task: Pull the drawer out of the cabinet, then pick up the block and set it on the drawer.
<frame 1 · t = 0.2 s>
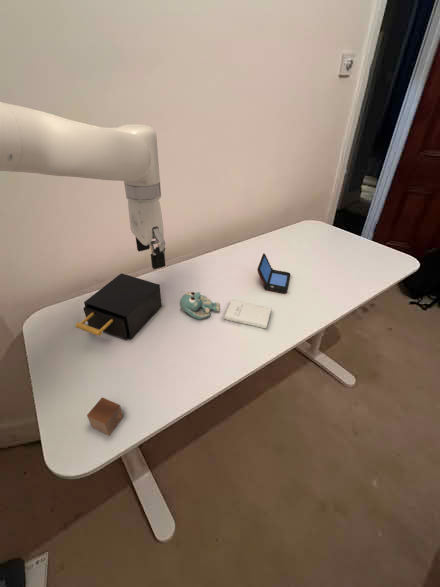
hand: (151, 258, 76), 20 cm above the table, tool pointing down, fingers open, 9 cm apart
handheld console: (272, 282, 106), on the table
drawer: (115, 313, 83), point 4 cm above the table, slide at 0.0 cm, touching cabinet
stuffed animal: (199, 310, 92), on the table
block: (107, 422, 62), on the table
hard drive: (248, 316, 90), on the table
cabinet: (127, 315, 88), on the table
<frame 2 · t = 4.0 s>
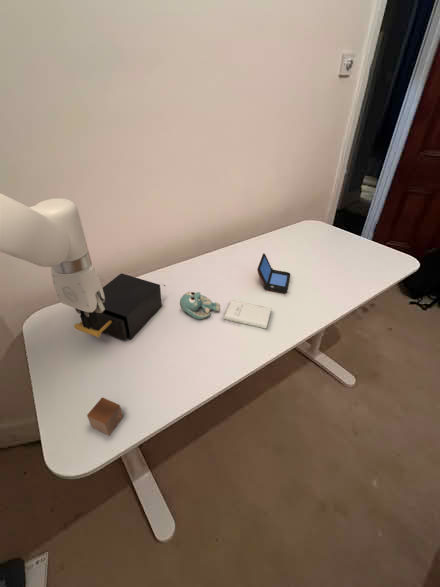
hand: (90, 324, 74), 7 cm above the table, tool pointing down, fingers closed
drawer: (114, 314, 82), point 4 cm above the table, slide at 0.5 cm, touching gripper
everything else where it was.
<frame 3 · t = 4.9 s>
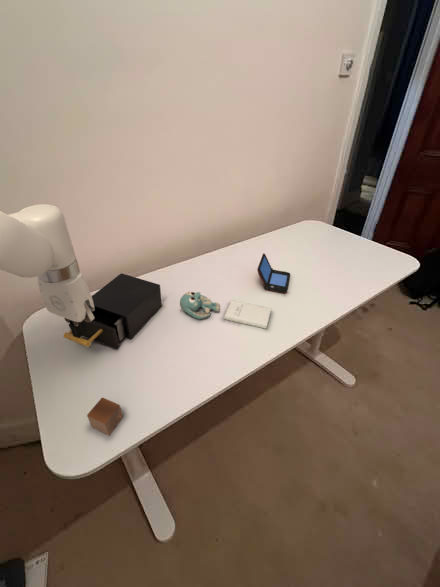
hand: (80, 333, 72), 7 cm above the table, tool pointing down, fingers closed
drawer: (105, 322, 80), point 4 cm above the table, slide at 3.9 cm, touching gripper
everything else where it was.
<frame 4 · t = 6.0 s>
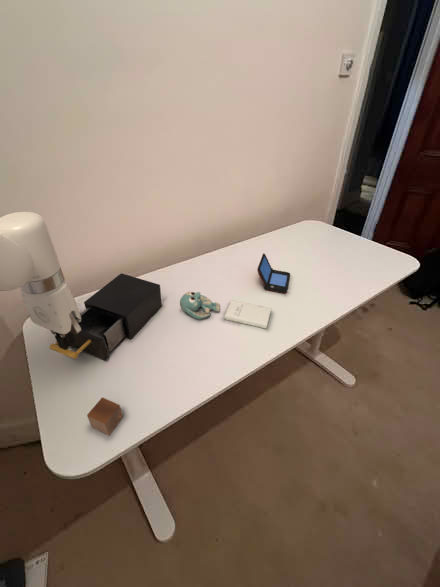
hand: (67, 344, 69), 7 cm above the table, tool pointing down, fingers closed
drawer: (95, 332, 77), point 4 cm above the table, slide at 7.9 cm, touching gripper
everything else where it was.
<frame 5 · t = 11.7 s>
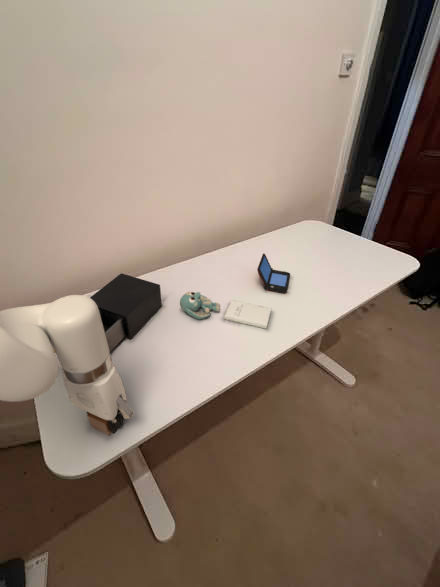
hand: (107, 421, 62), 0 cm above the table, tool pointing down, fingers closed on block, 4 cm apart
drawer: (93, 333, 76), point 4 cm above the table, slide at 8.3 cm
block: (107, 422, 62), on the table, touching gripper
everything else where it was.
when the fingers open (7 cm above the table, at t = 18.1 s): block drops 4 cm, resting on drawer.
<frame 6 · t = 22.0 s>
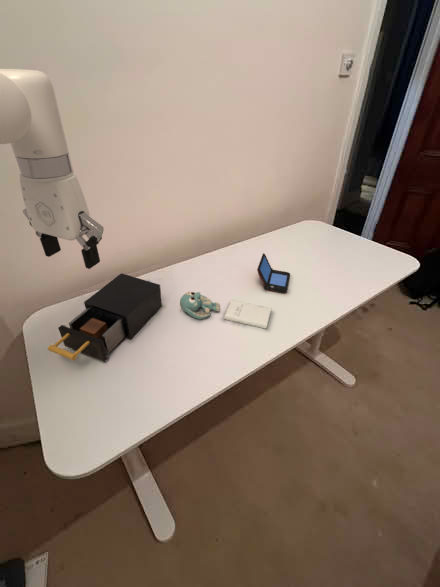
hand: (73, 259, 58), 28 cm above the table, tool pointing down, fingers open, 9 cm apart
drawer: (93, 333, 76), point 4 cm above the table, slide at 8.3 cm, touching block
block: (96, 338, 78), point 2 cm above the table, touching drawer
everything else where it was.
at the end: drawer slide at 8.3 cm; block inside the target area in the drawer (1.5 cm from its centre), point 2.0 cm above the cabinet's base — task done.
